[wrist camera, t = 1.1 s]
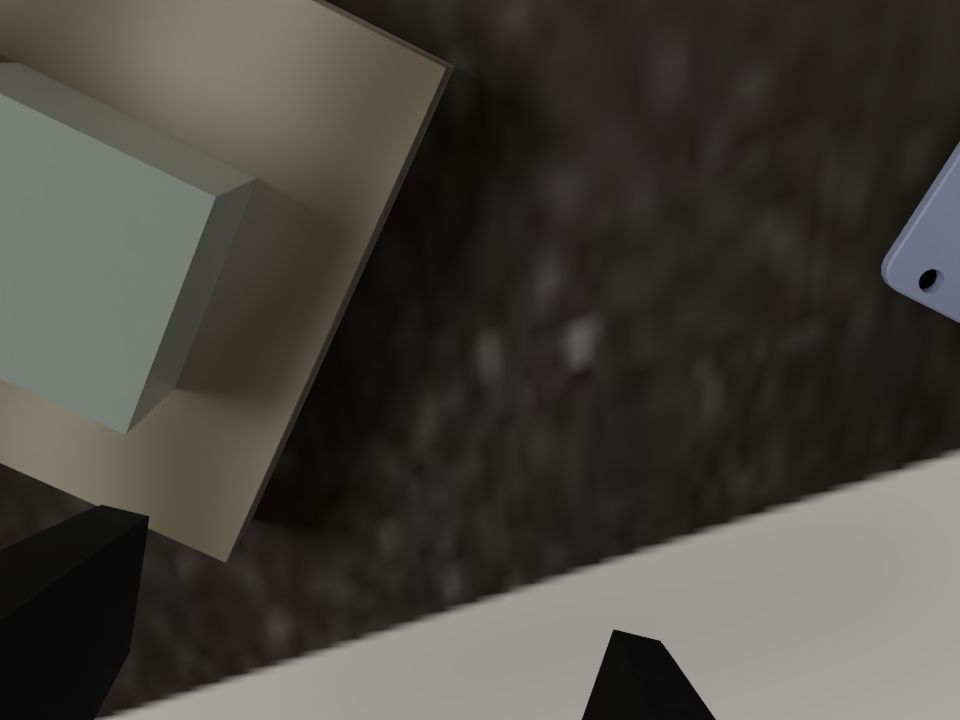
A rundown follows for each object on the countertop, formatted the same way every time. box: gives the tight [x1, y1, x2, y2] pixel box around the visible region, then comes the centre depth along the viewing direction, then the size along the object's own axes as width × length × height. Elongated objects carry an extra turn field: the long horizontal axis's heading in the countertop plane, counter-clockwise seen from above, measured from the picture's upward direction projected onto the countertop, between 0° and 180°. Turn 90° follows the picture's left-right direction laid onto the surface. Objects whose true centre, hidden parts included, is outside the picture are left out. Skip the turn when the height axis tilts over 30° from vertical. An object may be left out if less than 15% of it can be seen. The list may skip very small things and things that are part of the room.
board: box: [0, 0, 455, 562], centre depth 20 cm, size 14×12×2 cm
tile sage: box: [0, 63, 257, 435], centre depth 18 cm, size 5×5×2 cm
